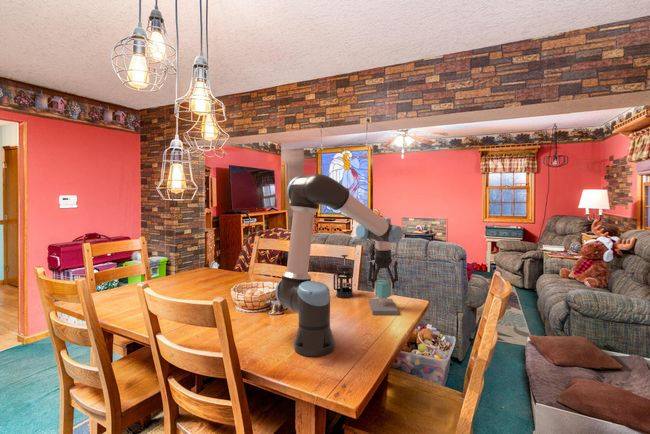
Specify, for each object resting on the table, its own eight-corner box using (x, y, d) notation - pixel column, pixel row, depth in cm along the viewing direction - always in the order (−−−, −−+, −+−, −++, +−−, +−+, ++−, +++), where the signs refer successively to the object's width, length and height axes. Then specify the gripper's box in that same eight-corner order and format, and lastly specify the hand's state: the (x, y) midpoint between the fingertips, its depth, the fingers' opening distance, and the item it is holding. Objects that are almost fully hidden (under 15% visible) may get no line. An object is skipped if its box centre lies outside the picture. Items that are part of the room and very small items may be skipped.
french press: (356, 294, 184) (356, 254, 183) (350, 299, 176) (350, 257, 174) (337, 292, 189) (337, 252, 188) (330, 296, 181) (330, 255, 180)
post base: (398, 315, 153) (398, 292, 152) (372, 315, 153) (372, 291, 152) (392, 302, 171) (392, 281, 170) (368, 302, 171) (369, 281, 170)
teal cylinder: (391, 297, 158) (391, 283, 157) (376, 297, 158) (376, 283, 158) (389, 293, 165) (389, 279, 164) (375, 293, 165) (375, 279, 165)
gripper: (402, 247, 163) (401, 292, 165) (362, 247, 164) (362, 292, 166) (405, 250, 156) (404, 297, 157) (363, 250, 157) (363, 297, 158)
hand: (383, 294), depth 162 cm, fingers closed on teal cylinder, 7 cm apart
